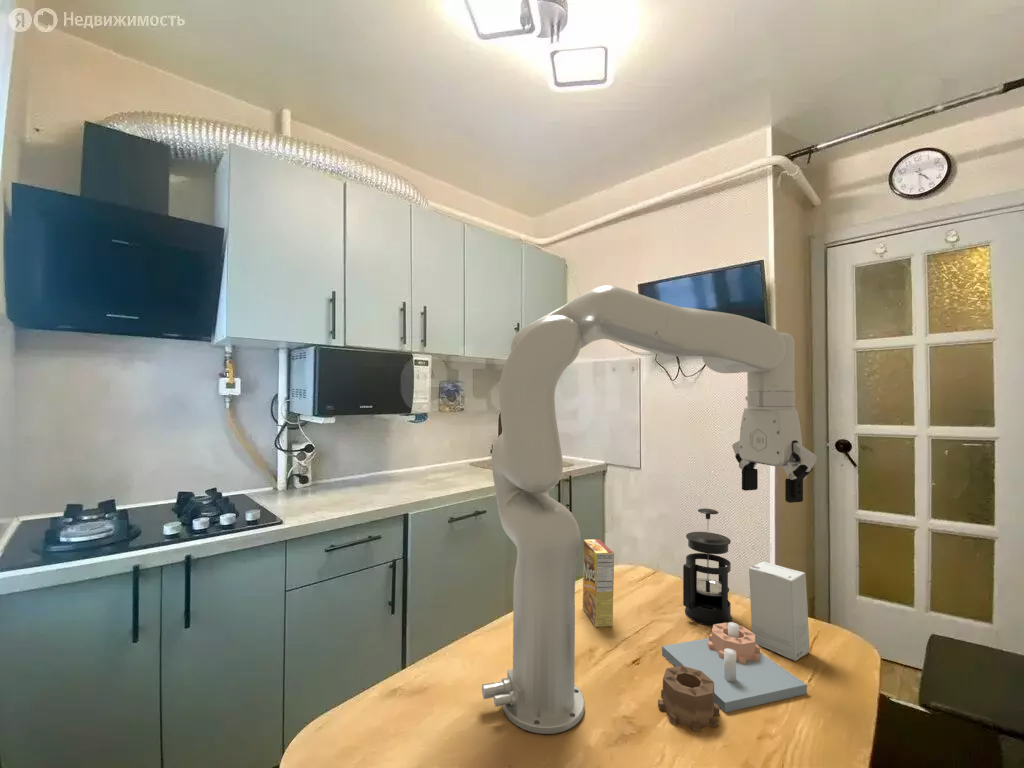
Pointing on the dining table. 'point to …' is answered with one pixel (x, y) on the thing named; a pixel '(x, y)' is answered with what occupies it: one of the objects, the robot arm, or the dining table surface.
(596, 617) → the candy box
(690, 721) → the walnut gear
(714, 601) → the french press
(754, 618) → the skincare box
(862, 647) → the dining table surface
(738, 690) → the gear board
